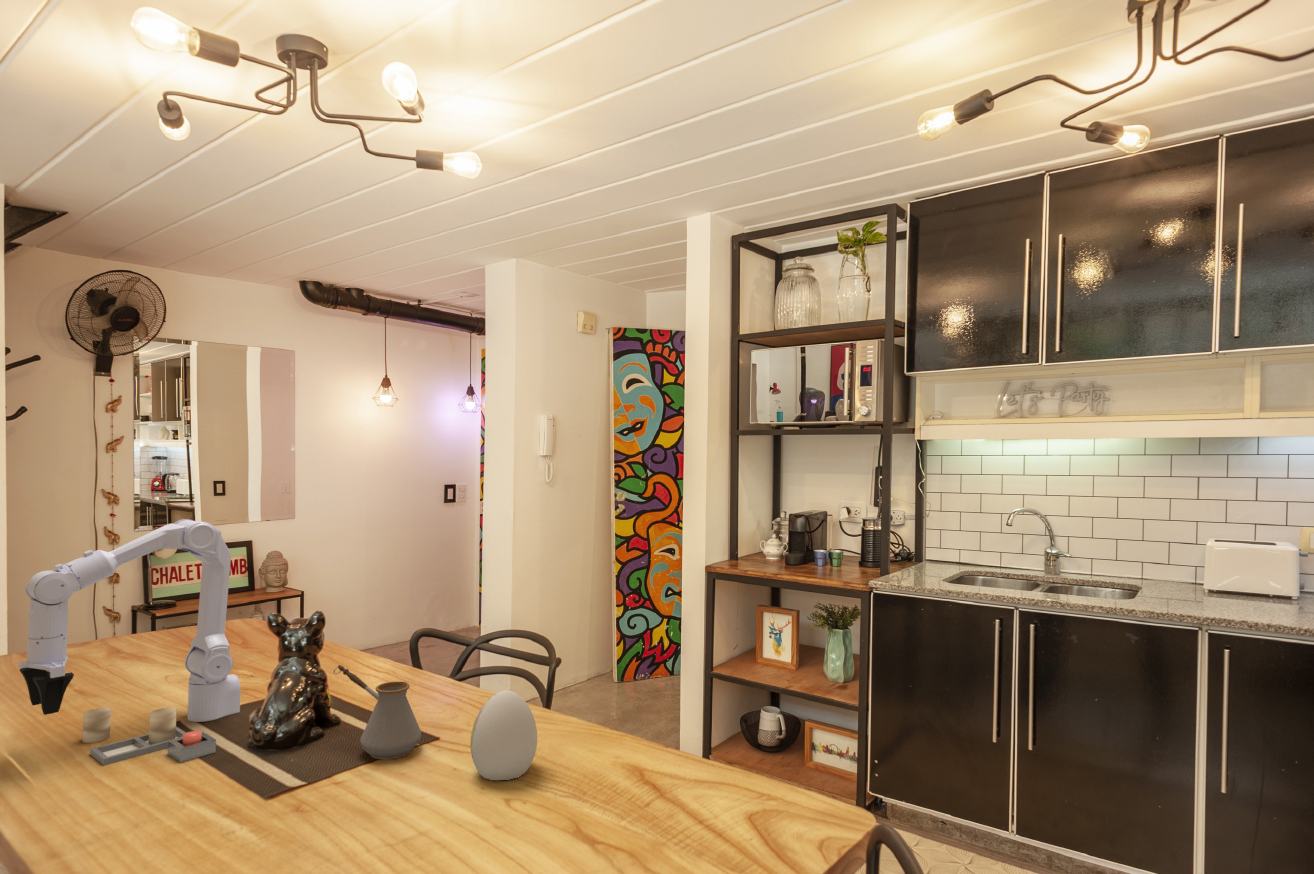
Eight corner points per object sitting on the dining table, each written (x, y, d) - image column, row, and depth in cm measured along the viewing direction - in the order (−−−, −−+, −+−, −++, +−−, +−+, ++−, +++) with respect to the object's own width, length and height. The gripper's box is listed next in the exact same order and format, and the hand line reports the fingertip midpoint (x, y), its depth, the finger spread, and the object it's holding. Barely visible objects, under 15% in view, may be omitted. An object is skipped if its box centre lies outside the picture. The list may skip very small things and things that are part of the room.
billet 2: (170, 736, 146) (171, 706, 146) (178, 741, 143) (180, 711, 143) (144, 742, 142) (146, 712, 143) (153, 748, 140) (154, 717, 140)
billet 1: (105, 735, 147) (106, 706, 147) (113, 741, 145) (114, 711, 145) (78, 742, 144) (80, 711, 144) (86, 748, 141) (87, 717, 141)
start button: (197, 742, 140) (197, 729, 140) (203, 746, 138) (204, 733, 139) (179, 747, 138) (180, 734, 138) (186, 751, 136) (186, 738, 136)
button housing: (202, 749, 142) (202, 731, 142) (215, 757, 139) (215, 739, 139) (167, 759, 138) (168, 741, 138) (180, 768, 134) (180, 749, 134)
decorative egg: (513, 752, 144) (514, 677, 144) (549, 772, 135) (551, 692, 136) (457, 770, 135) (459, 690, 136) (492, 793, 127) (494, 707, 127)
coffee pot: (433, 746, 146) (435, 672, 146) (390, 768, 136) (392, 688, 136) (357, 727, 155) (359, 657, 156) (311, 746, 145) (313, 671, 145)
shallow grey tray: (175, 737, 148) (176, 726, 148) (191, 746, 144) (191, 735, 144) (89, 760, 137) (90, 748, 137) (103, 771, 132) (103, 759, 132)
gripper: (9, 633, 137) (6, 705, 137) (31, 646, 128) (27, 723, 128) (56, 626, 143) (54, 695, 142) (80, 638, 134) (77, 712, 133)
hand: (45, 708), depth 135 cm, fingers open, 7 cm apart
